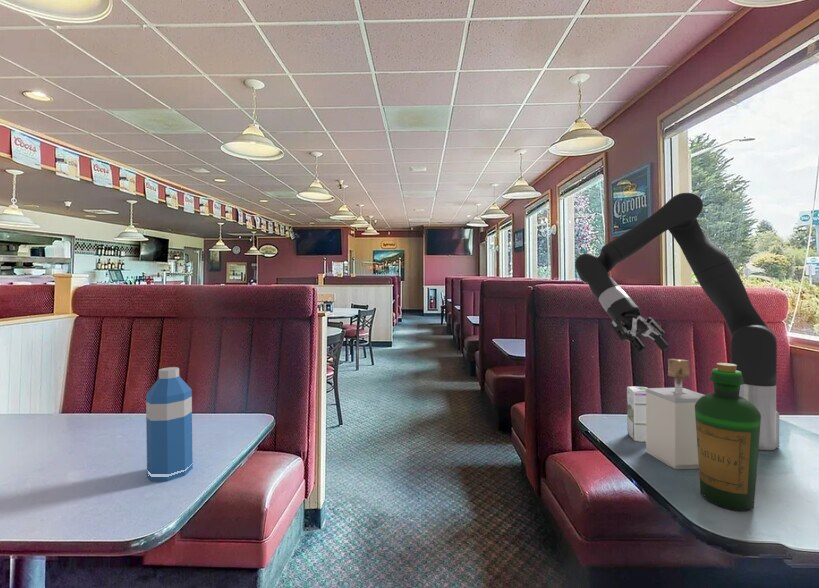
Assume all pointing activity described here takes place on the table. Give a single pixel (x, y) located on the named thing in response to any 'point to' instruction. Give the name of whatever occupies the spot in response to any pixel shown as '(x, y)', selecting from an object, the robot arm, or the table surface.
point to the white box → (672, 427)
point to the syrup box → (636, 413)
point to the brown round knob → (678, 372)
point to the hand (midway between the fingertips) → (654, 349)
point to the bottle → (727, 441)
